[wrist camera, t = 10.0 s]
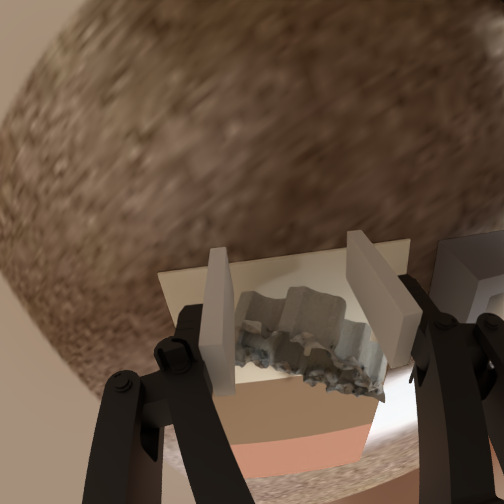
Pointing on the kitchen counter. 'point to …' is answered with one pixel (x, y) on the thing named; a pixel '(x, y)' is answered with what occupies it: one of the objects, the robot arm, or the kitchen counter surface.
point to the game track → (282, 384)
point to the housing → (468, 275)
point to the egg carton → (309, 341)
